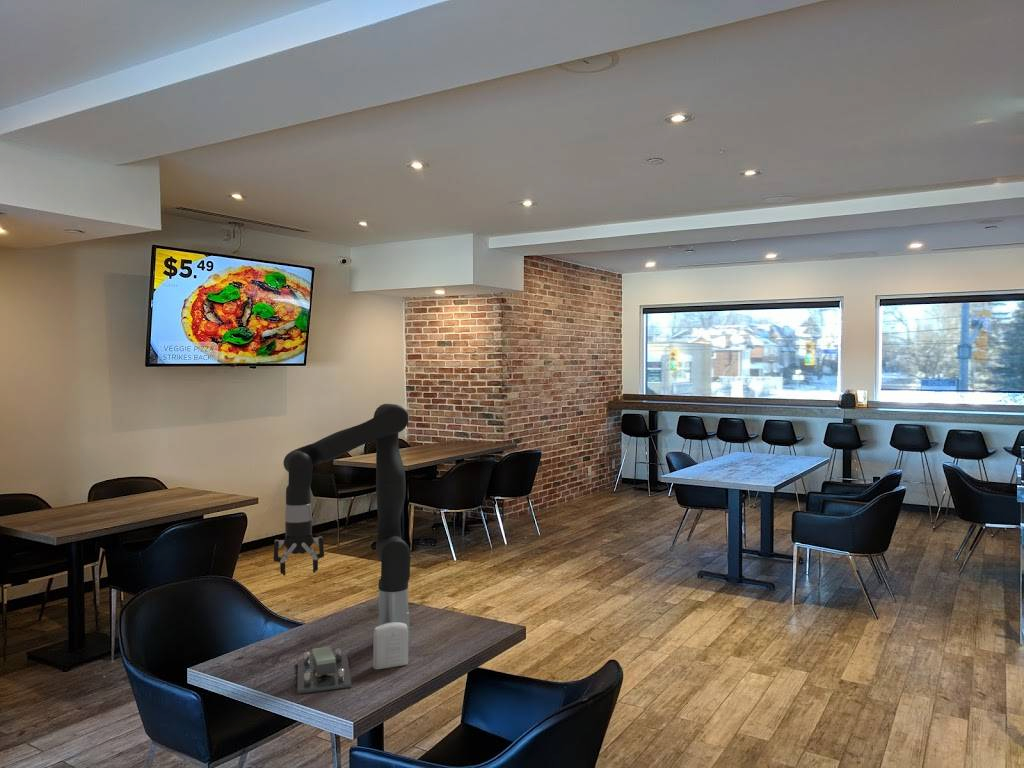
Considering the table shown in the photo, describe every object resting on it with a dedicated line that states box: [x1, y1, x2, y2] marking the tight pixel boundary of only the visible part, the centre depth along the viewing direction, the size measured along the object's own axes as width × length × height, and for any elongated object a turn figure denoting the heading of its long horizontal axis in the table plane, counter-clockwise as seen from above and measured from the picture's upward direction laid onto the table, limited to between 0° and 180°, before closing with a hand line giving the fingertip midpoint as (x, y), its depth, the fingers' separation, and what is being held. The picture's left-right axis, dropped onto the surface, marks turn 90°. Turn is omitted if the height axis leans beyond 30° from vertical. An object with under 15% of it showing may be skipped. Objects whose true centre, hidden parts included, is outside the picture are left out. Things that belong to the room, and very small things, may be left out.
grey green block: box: [311, 645, 336, 676], centre depth 203 cm, size 5×10×4 cm, turn 23°
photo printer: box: [372, 622, 409, 670], centre depth 209 cm, size 10×4×12 cm, turn 115°
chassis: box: [296, 647, 352, 695], centre depth 203 cm, size 14×21×4 cm, turn 16°
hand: (299, 573), depth 213 cm, fingers open, 8 cm apart
